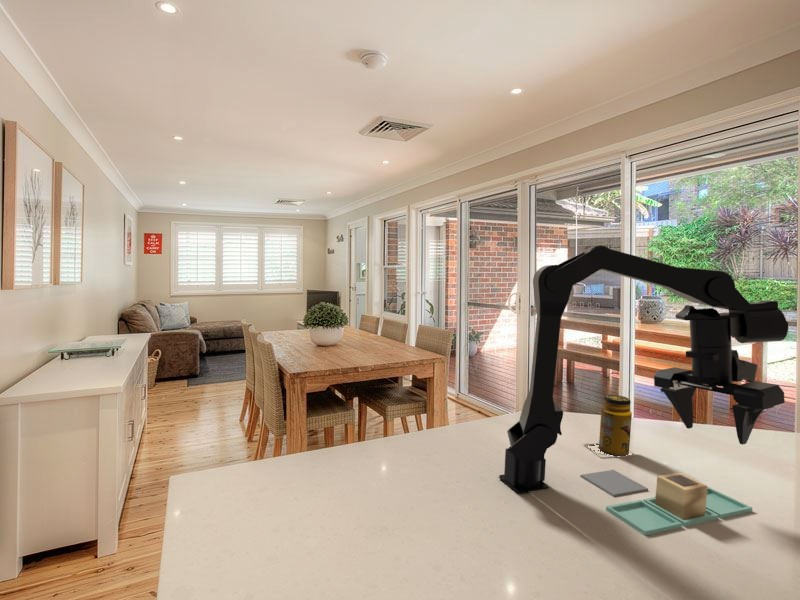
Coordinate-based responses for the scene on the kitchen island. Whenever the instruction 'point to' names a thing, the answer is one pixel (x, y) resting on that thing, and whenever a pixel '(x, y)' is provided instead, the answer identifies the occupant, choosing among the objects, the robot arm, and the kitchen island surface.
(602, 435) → the condiment
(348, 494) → the kitchen island surface
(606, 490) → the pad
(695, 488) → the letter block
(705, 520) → the dish middle
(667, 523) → the dish near
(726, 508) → the dish far
